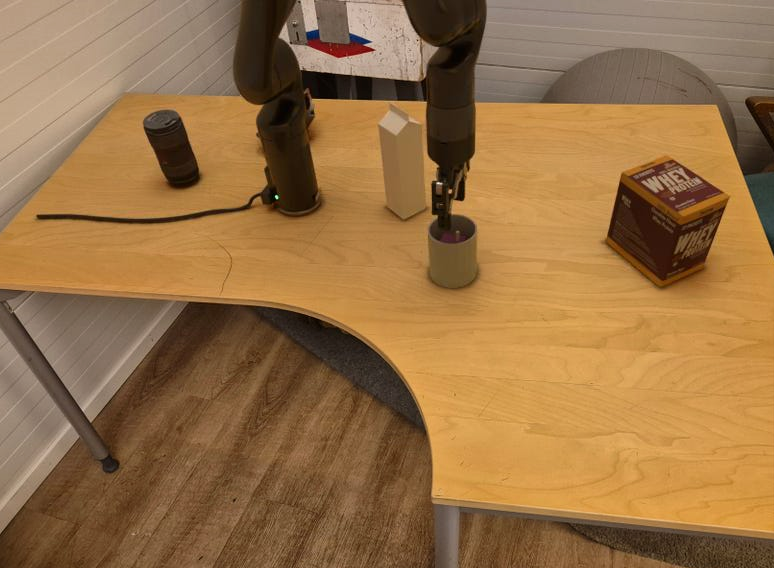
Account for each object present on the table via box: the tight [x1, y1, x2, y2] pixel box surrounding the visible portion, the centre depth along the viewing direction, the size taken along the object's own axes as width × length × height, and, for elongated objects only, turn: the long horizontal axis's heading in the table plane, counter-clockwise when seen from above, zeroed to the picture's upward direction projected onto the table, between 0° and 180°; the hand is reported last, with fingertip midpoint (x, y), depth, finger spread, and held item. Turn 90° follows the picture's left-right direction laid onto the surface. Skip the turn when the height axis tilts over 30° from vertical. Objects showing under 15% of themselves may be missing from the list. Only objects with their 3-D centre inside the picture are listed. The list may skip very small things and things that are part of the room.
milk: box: [377, 102, 427, 221], centre depth 124 cm, size 6×6×22 cm
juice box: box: [440, 231, 466, 244], centre depth 114 cm, size 4×3×9 cm
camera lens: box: [142, 109, 200, 189], centre depth 138 cm, size 8×8×15 cm
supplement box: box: [605, 155, 731, 288], centre depth 112 cm, size 10×15×16 cm
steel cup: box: [427, 213, 478, 289], centre depth 114 cm, size 9×9×10 cm
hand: (451, 214), depth 108 cm, fingers open, 8 cm apart
